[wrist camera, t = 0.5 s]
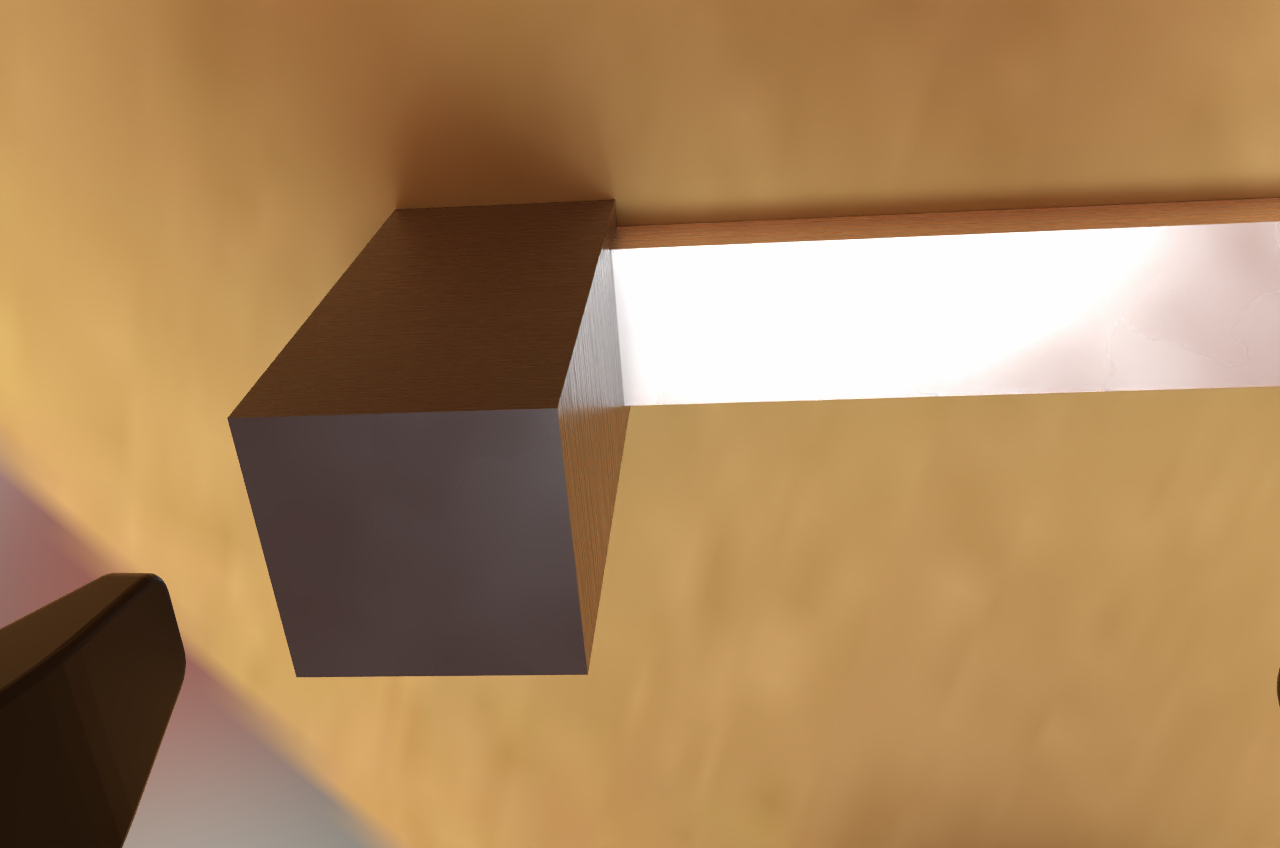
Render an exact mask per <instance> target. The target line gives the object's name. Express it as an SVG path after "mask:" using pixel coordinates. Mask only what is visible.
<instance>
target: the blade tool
mask: <svg viewBox="0 0 1280 848" xmlns="http://www.w3.org/2000/svg"><path fill="white" fill-rule="evenodd" d="M1266 386H1280V198H1259V199H1236V200H1214V201H1191V202H1168V203H1145V204H1123V205H1100V206H1077V207H1055V208H1032V209H1009V210H986V211H964V212H941V213H918V214H896V215H873V216H850V217H827V218H805V219H782V220H759V221H736V222H714V223H691V224H668V225H646V226H623V227H617V217H616V204H615V200H598V201H576V202H555V203H533V204H511V205H490V206H468V207H446V208H425V209H403V210H395V211H394V212H393V213H392V214H391V216H390V217H389V218H388V219H387V221H386V222H385V223H384V224H383V225H382V227H381V228H380V229H379V230H378V232H377V233H376V234H375V235H374V237H373V238H372V239H371V240H370V242H369V243H368V244H367V245H366V247H365V248H364V249H363V250H362V252H361V253H360V254H359V255H358V257H357V258H356V259H355V260H354V262H353V263H352V264H351V265H350V267H349V268H348V269H347V270H346V271H345V273H344V274H343V275H342V276H341V278H340V279H339V280H338V281H337V283H336V284H335V285H334V286H333V288H332V289H331V290H330V291H329V293H328V294H327V295H326V296H325V298H324V299H323V300H322V301H321V303H320V304H319V305H318V306H317V308H316V309H315V310H314V311H313V313H312V314H311V315H310V316H309V317H308V319H307V320H306V321H305V322H304V324H303V325H302V326H301V327H300V329H299V330H298V331H297V332H296V334H295V335H294V336H293V337H292V339H291V340H290V341H289V342H288V344H287V345H286V346H285V347H284V349H283V350H282V351H281V352H280V354H279V355H278V356H277V357H276V359H275V360H274V361H273V362H272V363H271V365H270V366H269V367H268V368H267V370H266V371H265V372H264V373H263V375H262V376H261V377H260V378H259V380H258V381H257V382H256V383H255V385H254V386H253V387H252V388H251V390H250V391H249V392H248V393H247V395H246V396H245V397H244V398H243V400H242V401H241V402H240V403H239V405H238V406H237V407H236V408H235V409H234V411H233V412H232V413H231V414H230V416H229V417H228V422H229V426H230V429H231V433H232V437H233V441H234V444H235V448H236V452H237V456H238V459H239V463H240V467H241V471H242V474H243V478H244V482H245V486H246V489H247V493H248V497H249V501H250V504H251V508H252V512H253V516H254V519H255V523H256V527H257V531H258V534H259V538H260V542H261V546H262V549H263V553H264V557H265V561H266V564H267V568H268V572H269V576H270V579H271V583H272V587H273V591H274V594H275V598H276V602H277V606H278V609H279V613H280V617H281V621H282V624H283V628H284V632H285V636H286V639H287V643H288V647H289V651H290V654H291V658H292V662H293V665H294V669H295V673H296V677H369V676H479V675H588V670H589V663H590V657H591V651H592V644H593V638H594V632H595V626H596V619H597V613H598V607H599V600H600V594H601V588H602V581H603V575H604V569H605V562H606V556H607V550H608V543H609V537H610V531H611V524H612V518H613V512H614V505H615V499H616V493H617V486H618V480H619V474H620V468H621V461H622V455H623V449H624V442H625V436H626V430H627V423H628V417H629V411H630V406H633V405H667V404H700V403H733V402H766V401H800V400H833V399H866V398H900V397H933V396H966V395H1000V394H1033V393H1066V392H1099V391H1133V390H1166V389H1199V388H1233V387H1266Z"/></svg>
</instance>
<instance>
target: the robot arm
mask: <svg viewBox="0 0 1280 848" xmlns="http://www.w3.org/2000/svg"><path fill="white" fill-rule="evenodd" d="M185 661H186V660H185V652H184V647H183V643H182V640H181V636H180V632H179V629H178V625H177V621H176V617H175V614H174V610H173V606H172V603H171V599H170V595H169V592H168V589H167V586H166V584H165V583H164V581H163V580H162V579H161V578H160V577H158V576H157V575H155V574H152V573H110V574H106V575H104V576H102V577H100V578H98V579H96V580H94V581H92V582H90V583H88V584H86V585H84V586H82V587H80V588H78V589H76V590H75V591H73V592H71V593H69V594H67V595H65V596H63V597H61V598H59V599H57V600H55V601H53V602H52V603H50V604H48V605H46V606H44V607H42V608H40V609H38V610H36V611H34V612H32V613H30V614H28V615H26V616H24V617H23V618H21V619H19V620H17V621H15V622H13V623H11V624H9V625H7V626H5V627H3V628H1V629H0V848H122V846H123V844H124V842H125V839H126V837H127V834H128V832H129V829H130V827H131V824H132V822H133V819H134V817H135V814H136V811H137V808H138V806H139V803H140V800H141V797H142V795H143V792H144V789H145V786H146V784H147V780H148V778H149V775H150V773H151V770H152V767H153V764H154V761H155V759H156V756H157V753H158V750H159V747H160V745H161V742H162V739H163V736H164V734H165V731H166V728H167V726H168V723H169V720H170V717H171V714H172V712H173V709H174V706H175V703H176V701H177V698H178V695H179V692H180V690H181V686H182V684H183V680H184V675H185V667H186V662H185ZM1277 695H1278V701H1279V706H1280V669H1279V673H1278V679H1277Z"/></svg>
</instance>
